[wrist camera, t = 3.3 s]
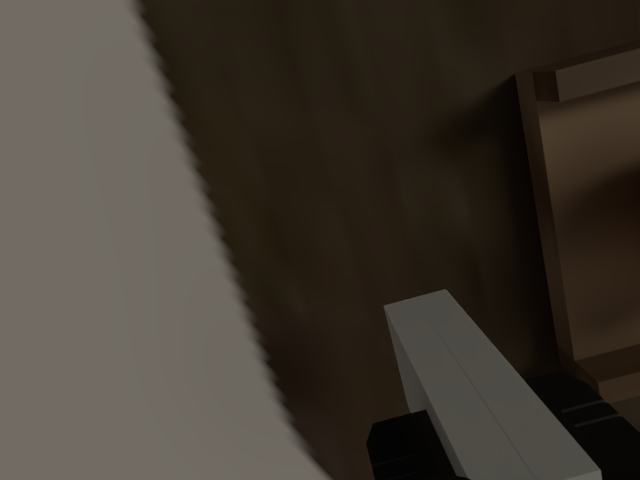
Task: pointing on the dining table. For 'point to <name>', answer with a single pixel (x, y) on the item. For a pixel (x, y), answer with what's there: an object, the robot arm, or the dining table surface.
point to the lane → (589, 209)
